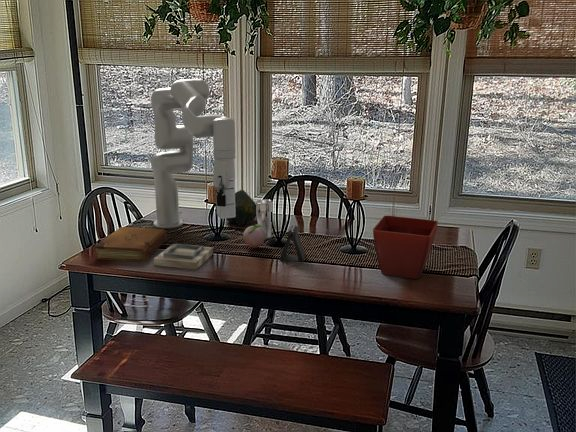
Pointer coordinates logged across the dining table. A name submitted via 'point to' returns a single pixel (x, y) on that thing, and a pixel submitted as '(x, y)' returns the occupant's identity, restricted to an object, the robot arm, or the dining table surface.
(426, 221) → the plant pot
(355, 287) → the dining table surface
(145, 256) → the diary
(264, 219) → the beer glass
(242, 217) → the squash
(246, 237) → the decorative fruit
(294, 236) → the phone stand
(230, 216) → the syrup box
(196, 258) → the base plate
